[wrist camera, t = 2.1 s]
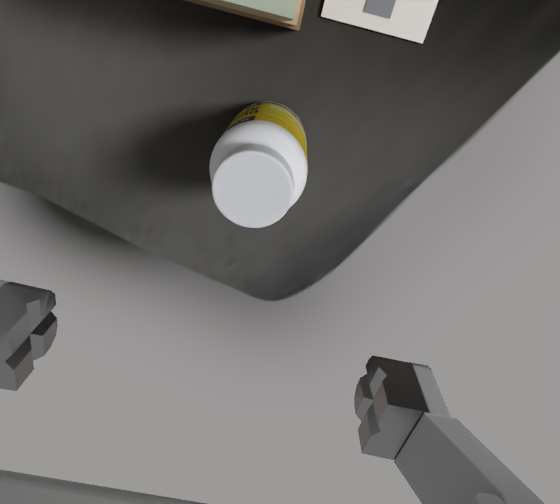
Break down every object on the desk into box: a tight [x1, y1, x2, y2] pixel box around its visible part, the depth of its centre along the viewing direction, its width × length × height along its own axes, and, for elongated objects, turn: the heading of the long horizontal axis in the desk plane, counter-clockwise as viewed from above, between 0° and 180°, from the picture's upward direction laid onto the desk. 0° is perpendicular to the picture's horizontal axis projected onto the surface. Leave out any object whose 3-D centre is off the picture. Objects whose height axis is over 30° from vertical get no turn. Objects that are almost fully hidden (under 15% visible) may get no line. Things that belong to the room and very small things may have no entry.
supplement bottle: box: [209, 101, 308, 228], centre depth 23 cm, size 5×5×10 cm
